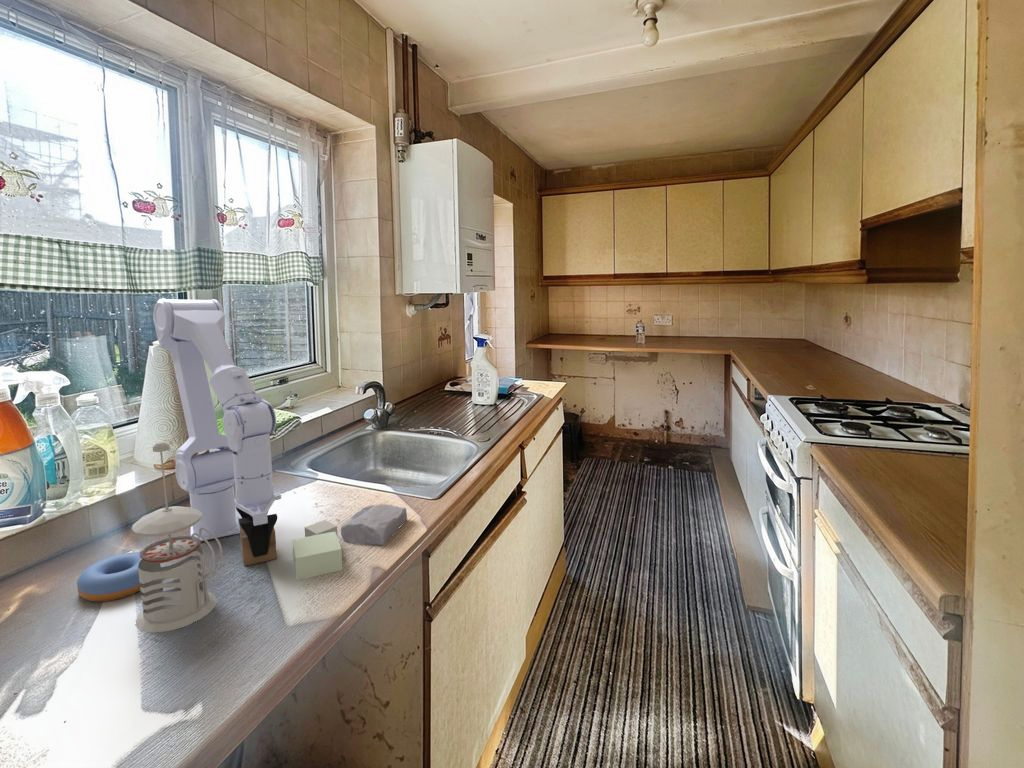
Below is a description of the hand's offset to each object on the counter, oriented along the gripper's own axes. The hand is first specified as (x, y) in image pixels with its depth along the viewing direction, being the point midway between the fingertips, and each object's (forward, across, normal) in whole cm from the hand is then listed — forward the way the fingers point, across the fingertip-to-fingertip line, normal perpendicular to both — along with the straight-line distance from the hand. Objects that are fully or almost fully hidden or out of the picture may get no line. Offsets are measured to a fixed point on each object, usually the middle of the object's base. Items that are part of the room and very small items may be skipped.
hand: (258, 548), depth 87 cm
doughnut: (+2, +1, +19) cm, 19 cm away
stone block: (+2, 0, -20) cm, 20 cm away
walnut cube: (+1, 0, 0) cm, 1 cm away
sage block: (+2, -8, -8) cm, 12 cm away
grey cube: (+2, -2, -10) cm, 10 cm away
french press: (+2, -11, +11) cm, 16 cm away
